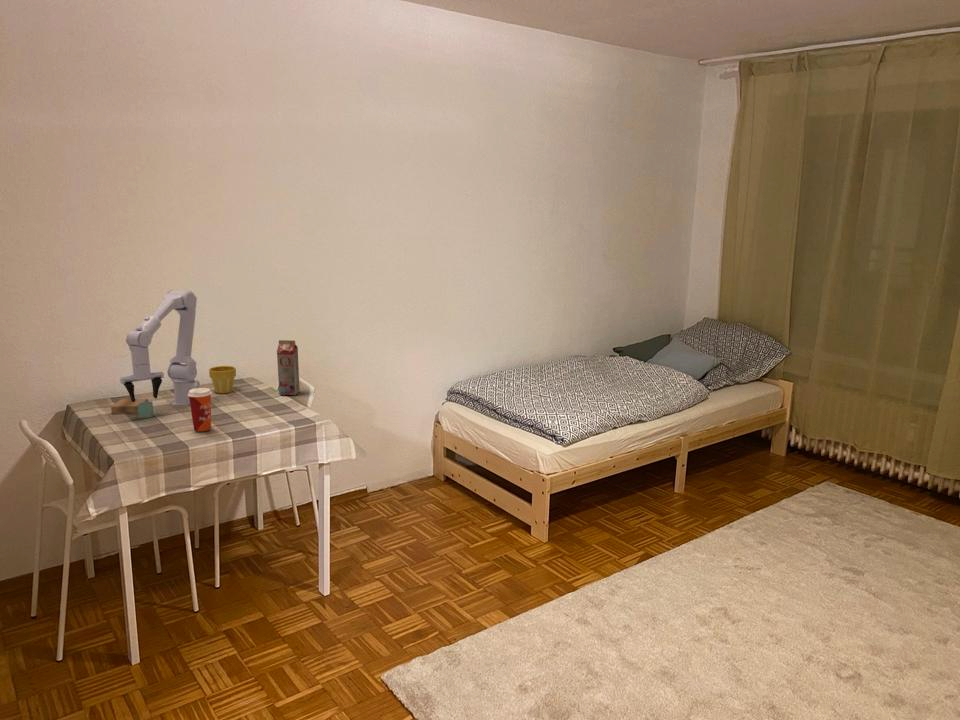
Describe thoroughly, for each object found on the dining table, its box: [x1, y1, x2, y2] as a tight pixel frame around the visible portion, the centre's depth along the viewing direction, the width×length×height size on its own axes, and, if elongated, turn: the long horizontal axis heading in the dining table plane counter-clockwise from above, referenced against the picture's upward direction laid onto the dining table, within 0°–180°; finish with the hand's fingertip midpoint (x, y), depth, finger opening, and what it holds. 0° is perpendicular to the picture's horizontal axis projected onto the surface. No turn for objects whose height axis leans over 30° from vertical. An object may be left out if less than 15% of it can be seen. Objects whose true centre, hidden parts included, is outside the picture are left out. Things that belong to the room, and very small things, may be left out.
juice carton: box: [276, 339, 301, 396], centre depth 297 cm, size 7×7×22 cm
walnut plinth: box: [110, 398, 149, 415], centre depth 273 cm, size 10×10×3 cm
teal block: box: [137, 401, 154, 419], centre depth 266 cm, size 4×4×5 cm
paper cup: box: [188, 387, 212, 432], centre depth 252 cm, size 8×8×14 cm
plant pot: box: [208, 365, 237, 394], centre depth 299 cm, size 10×10×10 cm
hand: (144, 399), depth 265 cm, fingers open, 7 cm apart
